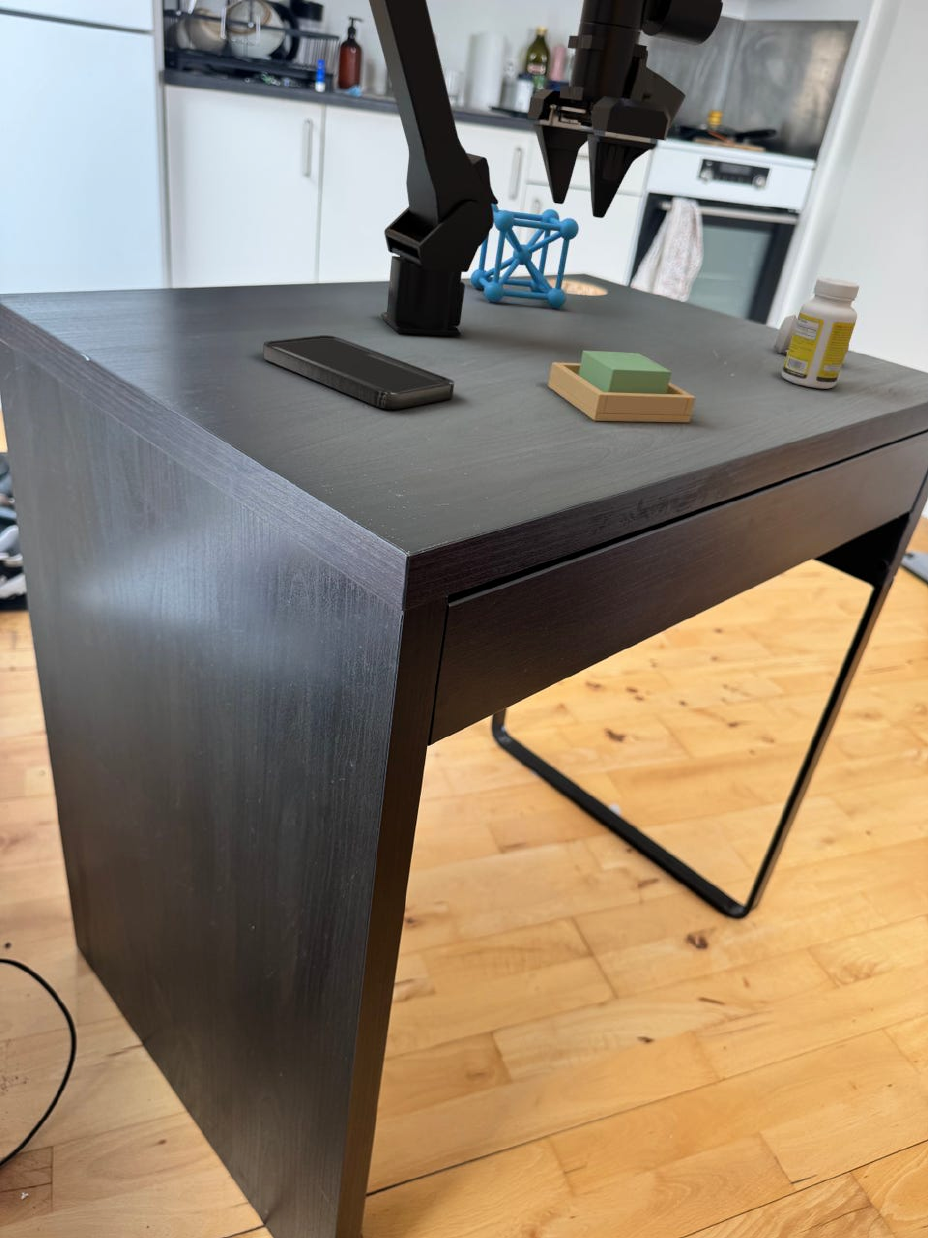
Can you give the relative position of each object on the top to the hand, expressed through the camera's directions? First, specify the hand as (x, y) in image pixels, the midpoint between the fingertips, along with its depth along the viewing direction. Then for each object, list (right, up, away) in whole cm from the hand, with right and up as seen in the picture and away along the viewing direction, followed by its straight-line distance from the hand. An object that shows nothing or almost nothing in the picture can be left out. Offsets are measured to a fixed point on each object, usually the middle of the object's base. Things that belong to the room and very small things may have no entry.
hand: (577, 210), depth 93 cm
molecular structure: (-5, -2, +19) cm, 20 cm away
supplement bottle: (+23, -17, +1) cm, 29 cm away
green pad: (+1, -23, -16) cm, 28 cm away
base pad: (+1, -23, -16) cm, 28 cm away
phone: (-20, -22, -20) cm, 36 cm away
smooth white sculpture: (+27, -12, +12) cm, 32 cm away
